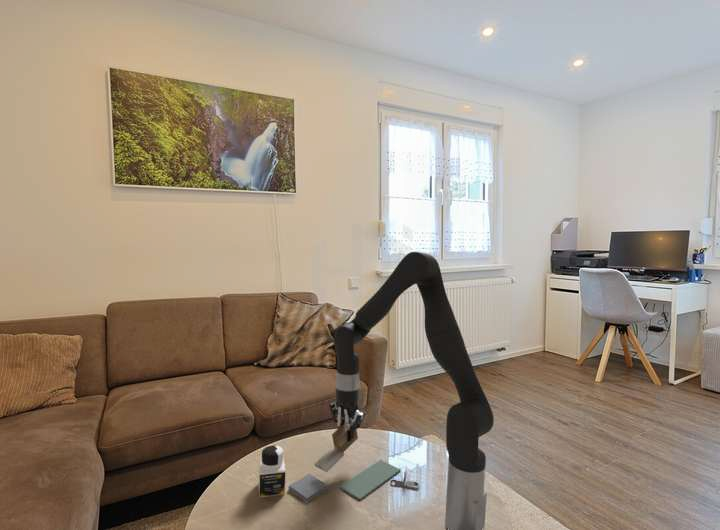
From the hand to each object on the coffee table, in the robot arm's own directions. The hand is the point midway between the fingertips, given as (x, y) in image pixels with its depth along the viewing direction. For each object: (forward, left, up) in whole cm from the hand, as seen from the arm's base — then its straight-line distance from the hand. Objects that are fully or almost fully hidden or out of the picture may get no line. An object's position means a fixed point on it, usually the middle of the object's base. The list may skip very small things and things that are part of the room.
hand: (345, 438), depth 125 cm
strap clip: (-19, -7, -11) cm, 22 cm away
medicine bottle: (+8, +22, -10) cm, 26 cm away
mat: (-10, -2, -10) cm, 14 cm away
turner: (0, +3, -3) cm, 5 cm away
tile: (0, +11, -9) cm, 15 cm away
